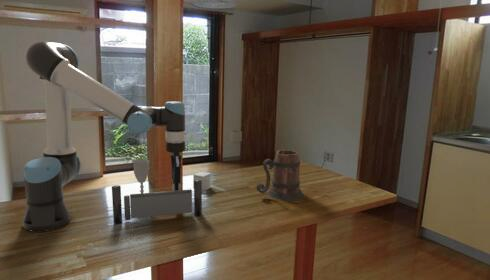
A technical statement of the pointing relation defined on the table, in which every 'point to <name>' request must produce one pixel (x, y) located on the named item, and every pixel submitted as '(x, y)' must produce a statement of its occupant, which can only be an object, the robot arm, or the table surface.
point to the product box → (203, 179)
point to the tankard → (283, 176)
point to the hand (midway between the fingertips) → (176, 197)
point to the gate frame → (118, 209)
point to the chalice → (141, 171)
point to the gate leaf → (158, 203)
